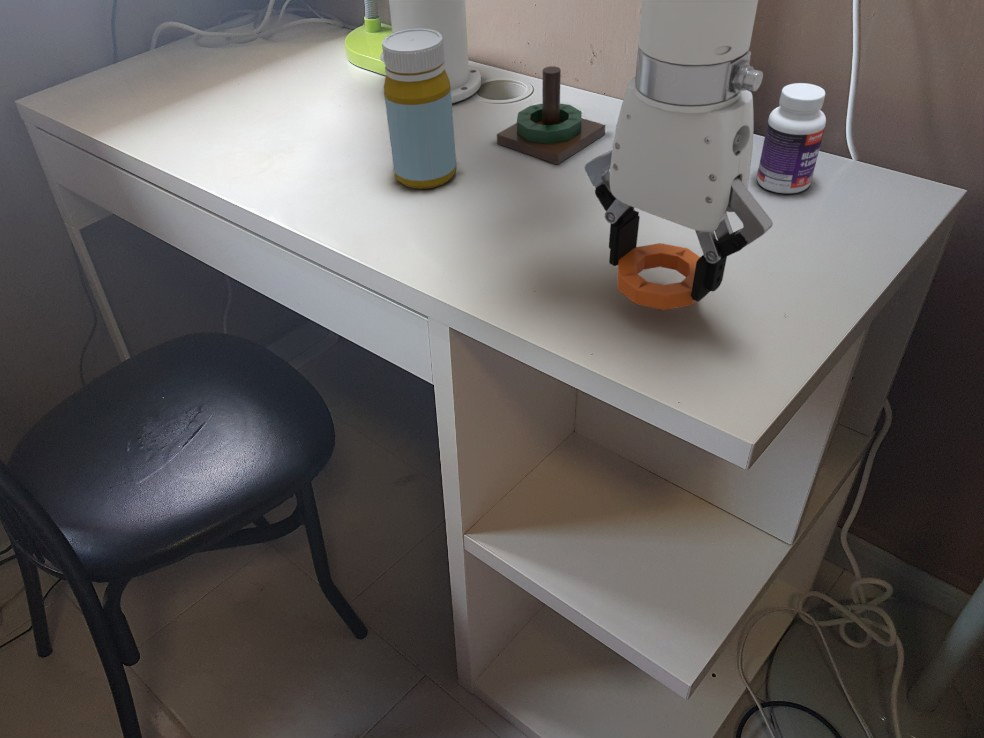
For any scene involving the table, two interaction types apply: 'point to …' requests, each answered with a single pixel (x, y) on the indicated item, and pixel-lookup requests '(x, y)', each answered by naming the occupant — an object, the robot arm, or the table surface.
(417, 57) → the bottle
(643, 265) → the ring orange
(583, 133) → the post
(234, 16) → the table surface
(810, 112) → the pill bottle
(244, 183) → the table surface
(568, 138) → the ring green
